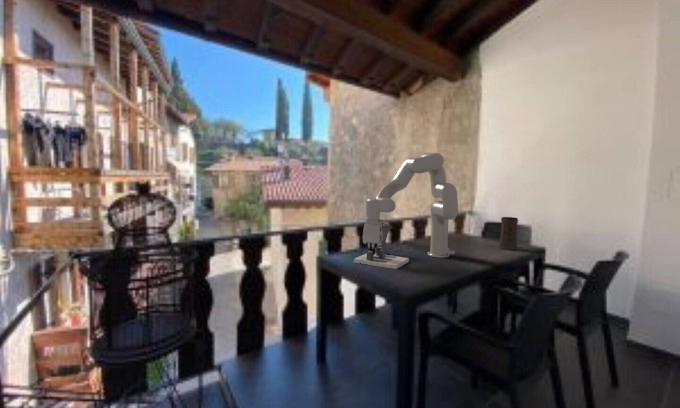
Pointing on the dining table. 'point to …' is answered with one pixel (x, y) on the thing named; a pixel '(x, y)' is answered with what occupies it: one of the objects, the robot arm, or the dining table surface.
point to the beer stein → (508, 233)
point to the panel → (382, 261)
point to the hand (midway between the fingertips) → (371, 255)
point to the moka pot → (384, 235)
